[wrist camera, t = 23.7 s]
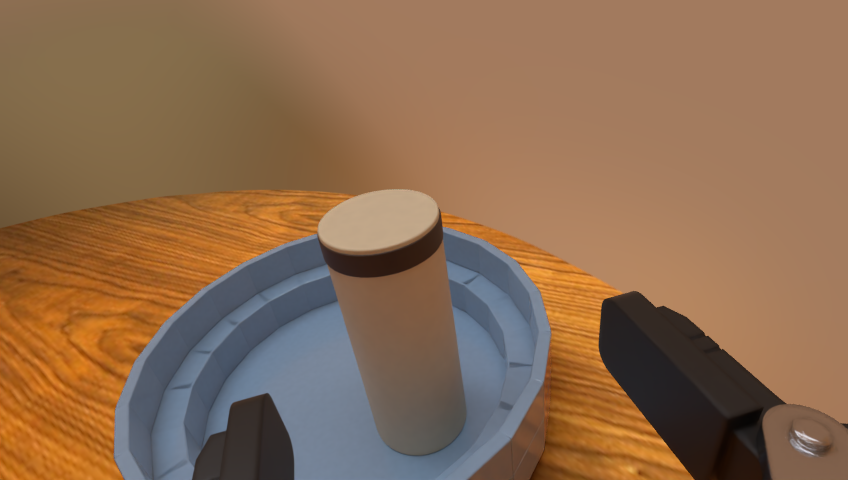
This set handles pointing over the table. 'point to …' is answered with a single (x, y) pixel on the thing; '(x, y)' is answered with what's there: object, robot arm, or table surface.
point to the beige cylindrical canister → (398, 314)
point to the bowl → (337, 372)
